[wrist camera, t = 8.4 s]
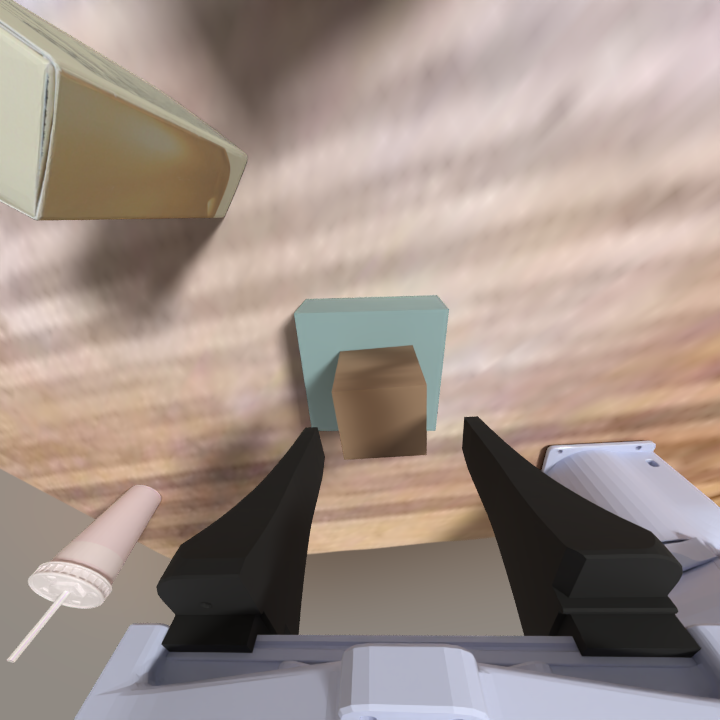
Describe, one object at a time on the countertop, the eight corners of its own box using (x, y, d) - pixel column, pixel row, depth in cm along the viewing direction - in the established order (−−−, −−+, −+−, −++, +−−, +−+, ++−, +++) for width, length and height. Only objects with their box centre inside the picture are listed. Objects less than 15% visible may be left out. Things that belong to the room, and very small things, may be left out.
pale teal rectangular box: (435, 294, 21) (448, 309, 17) (426, 401, 25) (435, 430, 22) (306, 297, 21) (293, 313, 18) (320, 402, 26) (312, 431, 22)
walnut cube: (412, 345, 19) (426, 384, 14) (413, 404, 21) (426, 455, 16) (339, 351, 19) (331, 392, 14) (349, 409, 21) (344, 459, 17)
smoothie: (182, 497, 33) (67, 667, 20) (156, 518, 35) (38, 683, 23) (133, 468, 31) (-29, 637, 18) (108, 492, 33) (-51, 658, 21)
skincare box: (134, 159, 17) (-263, 60, 6) (151, 82, 16) (-351, -229, 5) (229, 223, 19) (34, 229, 8) (254, 158, 17) (50, 55, 6)
